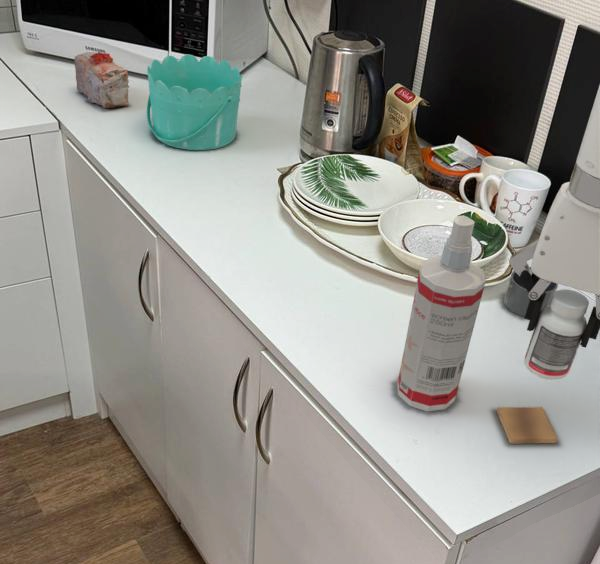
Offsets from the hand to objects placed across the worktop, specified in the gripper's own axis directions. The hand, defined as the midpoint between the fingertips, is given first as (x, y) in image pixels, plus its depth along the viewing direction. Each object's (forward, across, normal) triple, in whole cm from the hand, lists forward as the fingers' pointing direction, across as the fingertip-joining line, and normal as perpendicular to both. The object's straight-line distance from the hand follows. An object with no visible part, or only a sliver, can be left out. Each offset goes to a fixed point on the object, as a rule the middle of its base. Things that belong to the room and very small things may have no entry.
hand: (558, 331), depth 92 cm
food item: (+15, +108, -61) cm, 125 cm away
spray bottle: (+15, +14, 0) cm, 20 cm away
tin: (+15, +6, -29) cm, 33 cm away
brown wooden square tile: (+15, 0, 0) cm, 15 cm away
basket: (+15, +82, -57) cm, 101 cm away
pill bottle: (+5, 0, 0) cm, 5 cm away
